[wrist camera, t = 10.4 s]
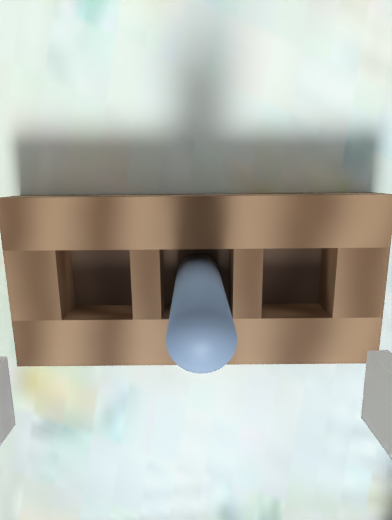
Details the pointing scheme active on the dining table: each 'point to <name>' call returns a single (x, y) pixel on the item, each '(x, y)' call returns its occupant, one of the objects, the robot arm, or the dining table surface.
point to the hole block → (166, 264)
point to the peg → (200, 317)
